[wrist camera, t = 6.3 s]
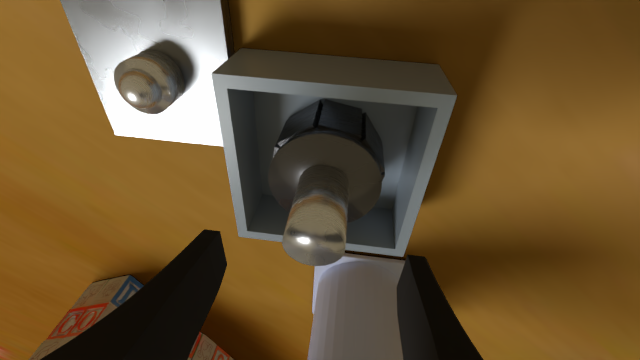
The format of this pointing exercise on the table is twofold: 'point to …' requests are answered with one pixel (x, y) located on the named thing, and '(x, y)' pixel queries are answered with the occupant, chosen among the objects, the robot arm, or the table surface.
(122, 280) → the stack of blocks
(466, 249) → the table surface
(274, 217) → the bin
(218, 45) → the stud mount
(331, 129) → the dark grey stepped cylinder
